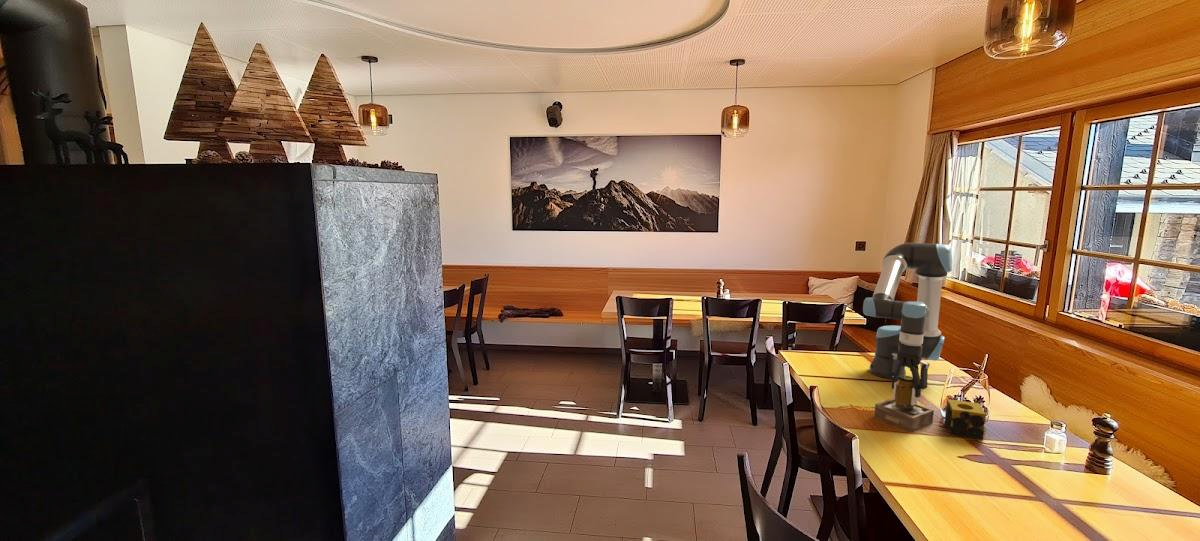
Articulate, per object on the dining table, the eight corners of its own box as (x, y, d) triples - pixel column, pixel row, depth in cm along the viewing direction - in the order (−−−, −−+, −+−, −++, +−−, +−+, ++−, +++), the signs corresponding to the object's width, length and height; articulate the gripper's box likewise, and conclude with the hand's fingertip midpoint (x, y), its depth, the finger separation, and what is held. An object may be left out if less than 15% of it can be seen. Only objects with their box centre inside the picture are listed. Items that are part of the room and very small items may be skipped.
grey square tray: (895, 408, 198) (896, 396, 197) (932, 423, 186) (933, 410, 185) (873, 416, 191) (875, 404, 191) (910, 431, 179) (912, 418, 178)
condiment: (898, 401, 193) (900, 372, 191) (922, 409, 186) (925, 379, 184) (890, 407, 188) (893, 377, 186) (915, 414, 182) (918, 384, 180)
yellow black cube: (976, 428, 182) (979, 403, 180) (984, 440, 173) (987, 414, 171) (943, 423, 186) (946, 398, 185) (949, 435, 177) (952, 409, 176)
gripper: (879, 338, 190) (874, 394, 194) (932, 351, 174) (925, 413, 177) (891, 335, 194) (886, 390, 198) (943, 348, 177) (936, 408, 181)
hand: (904, 401), depth 187 cm, fingers closed on condiment, 6 cm apart
